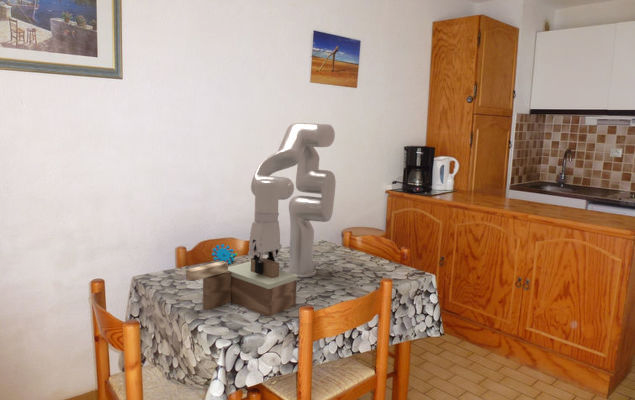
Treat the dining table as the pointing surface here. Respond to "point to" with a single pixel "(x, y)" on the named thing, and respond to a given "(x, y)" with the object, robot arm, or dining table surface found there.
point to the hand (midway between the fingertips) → (264, 271)
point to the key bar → (206, 270)
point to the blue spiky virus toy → (224, 254)
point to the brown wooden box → (247, 294)
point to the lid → (267, 279)
